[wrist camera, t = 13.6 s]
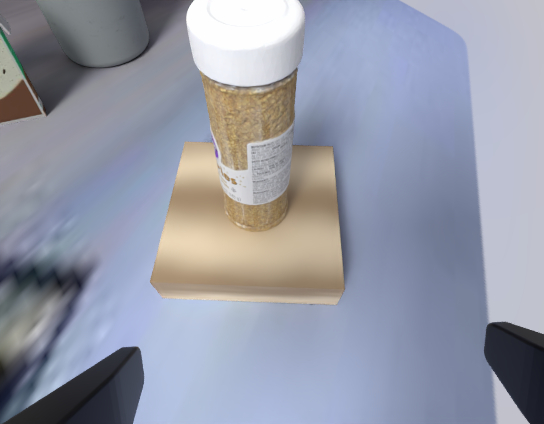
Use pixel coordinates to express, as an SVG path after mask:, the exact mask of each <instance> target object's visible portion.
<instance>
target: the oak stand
mask: <svg viewBox="0 0 544 424" xmlns="http://www.w3.org/2000/svg"><path fill="white" fill-rule="evenodd" d="M287 199H288V209H287V212H286V215H285V217H284V218H283V220H282V221H281V222H280V223H279V224H278V225H276V226H275V227H272V228H271V229H269V230H267V231H260V232H251V231H246V230H244V229H240V228H238V227H237V226H236V225H234V224H233V223H232V222H231V221H230V220H229V219H228V217H227V215H226V214H225V209H224V195H223V188H222V186H221V183H220V178H219V173H218V167H217V161H216V155H215V150H214V144H213V143H208V142H185V144H184V148H183V152H182V156H181V160H180V164H179V168H178V172H177V176H176V180H175V184H174V188H173V192H172V196H171V200H170V204H169V208H168V212H167V216H166V220H165V224H164V228H163V232H162V236H161V240H160V244H159V248H158V252H157V256H156V260H155V264H154V268H153V272H152V276H151V280H150V283H151V284H152V285H153V287H154V288H155V289H156V290H157V291H158V293H159V294H160V295H161V296H162V298H172V299H197V300H222V301H248V302H273V303H299V304H324V305H337V303H338V301H339V300H340V298H341V296H342V294H343V292H344V290H345V286H344V275H343V263H342V251H341V239H340V227H339V215H338V203H337V191H336V179H335V167H334V155H333V146H303V145H292V157H291V168H290V179H289V184H288V186H287Z"/></svg>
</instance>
